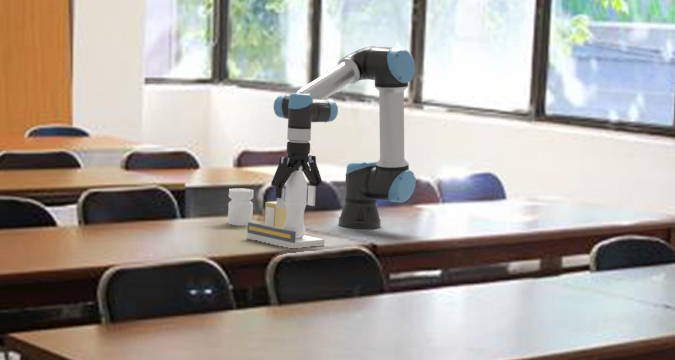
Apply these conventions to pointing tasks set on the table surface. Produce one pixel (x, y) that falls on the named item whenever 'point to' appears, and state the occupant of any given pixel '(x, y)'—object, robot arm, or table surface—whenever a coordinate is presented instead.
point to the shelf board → (280, 236)
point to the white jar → (240, 206)
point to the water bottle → (296, 203)
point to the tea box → (275, 215)
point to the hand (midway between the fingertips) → (295, 206)
